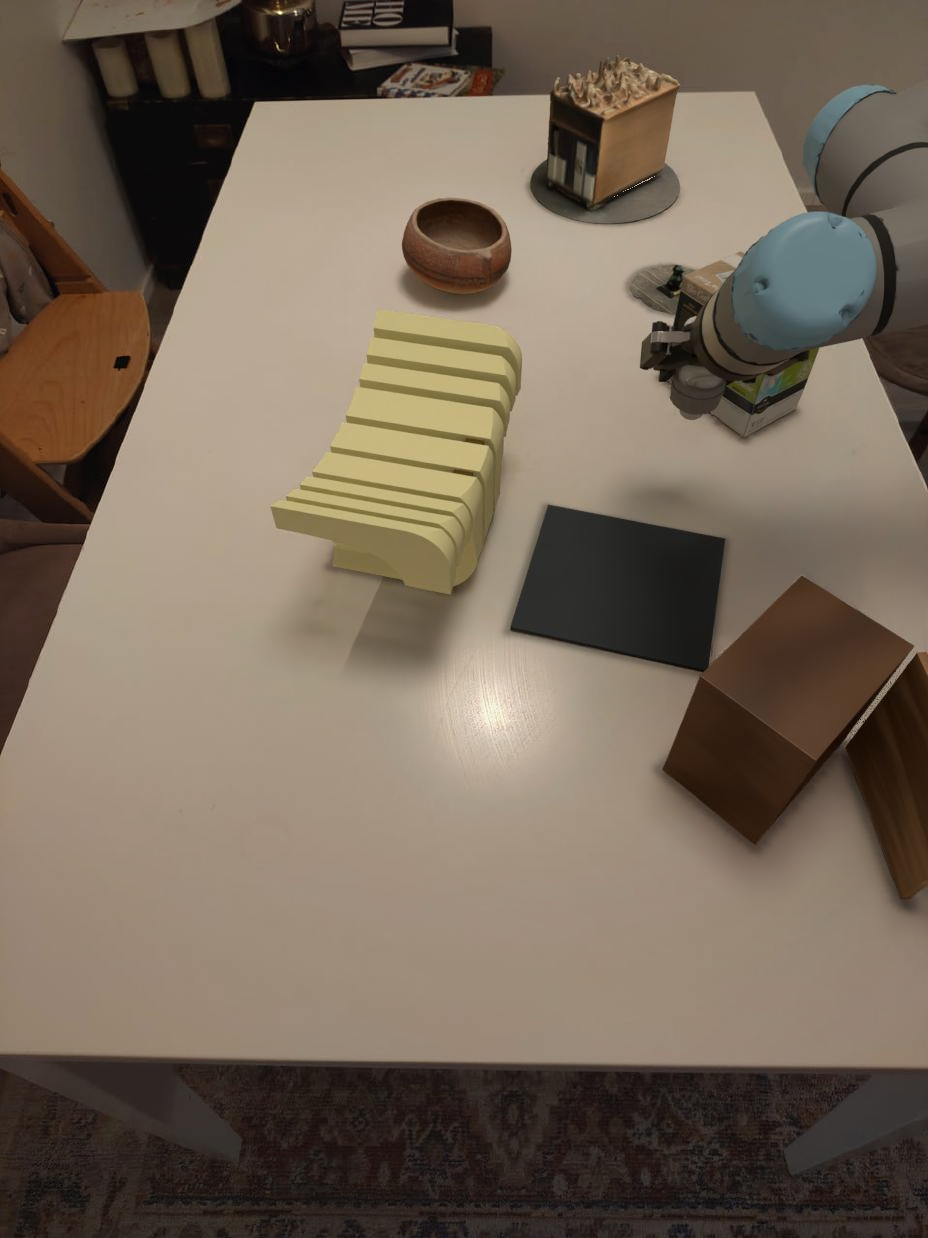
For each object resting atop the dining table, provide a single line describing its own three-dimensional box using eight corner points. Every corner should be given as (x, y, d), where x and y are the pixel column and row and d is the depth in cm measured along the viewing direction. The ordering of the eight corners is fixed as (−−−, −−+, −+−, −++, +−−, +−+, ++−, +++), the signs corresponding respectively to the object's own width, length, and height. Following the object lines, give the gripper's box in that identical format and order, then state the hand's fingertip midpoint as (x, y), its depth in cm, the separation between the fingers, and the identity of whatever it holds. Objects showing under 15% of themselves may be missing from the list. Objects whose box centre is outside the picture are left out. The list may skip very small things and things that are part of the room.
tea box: (798, 409, 105) (839, 304, 93) (742, 440, 101) (777, 335, 89) (714, 350, 112) (742, 246, 100) (658, 377, 109) (680, 273, 97)
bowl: (491, 320, 117) (492, 253, 109) (389, 301, 120) (382, 234, 112) (523, 262, 126) (526, 196, 118) (426, 246, 129) (423, 180, 121)
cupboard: (841, 743, 77) (914, 645, 64) (755, 845, 71) (816, 761, 58) (750, 678, 81) (801, 574, 68) (662, 769, 75) (699, 675, 62)
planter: (668, 232, 130) (693, 101, 115) (514, 212, 134) (519, 83, 119) (688, 160, 144) (712, 35, 129) (548, 143, 149) (556, 21, 134)
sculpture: (700, 322, 116) (672, 276, 113) (647, 345, 123) (618, 302, 120) (723, 274, 122) (697, 228, 118) (671, 298, 129) (645, 256, 125)
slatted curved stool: (453, 657, 83) (448, 538, 69) (305, 626, 85) (270, 505, 71) (517, 458, 100) (523, 329, 86) (391, 437, 103) (377, 308, 88)
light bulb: (677, 394, 90) (701, 293, 80) (725, 413, 88) (755, 312, 78) (653, 422, 87) (674, 321, 77) (701, 443, 85) (730, 342, 75)
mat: (724, 541, 92) (725, 538, 91) (706, 673, 81) (708, 670, 81) (547, 507, 95) (548, 504, 95) (510, 630, 85) (510, 626, 84)
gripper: (880, 280, 63) (789, 338, 86) (633, 268, 64) (608, 328, 87) (867, 381, 64) (780, 412, 87) (623, 368, 65) (601, 401, 88)
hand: (694, 370), depth 87 cm, fingers closed on light bulb, 6 cm apart
